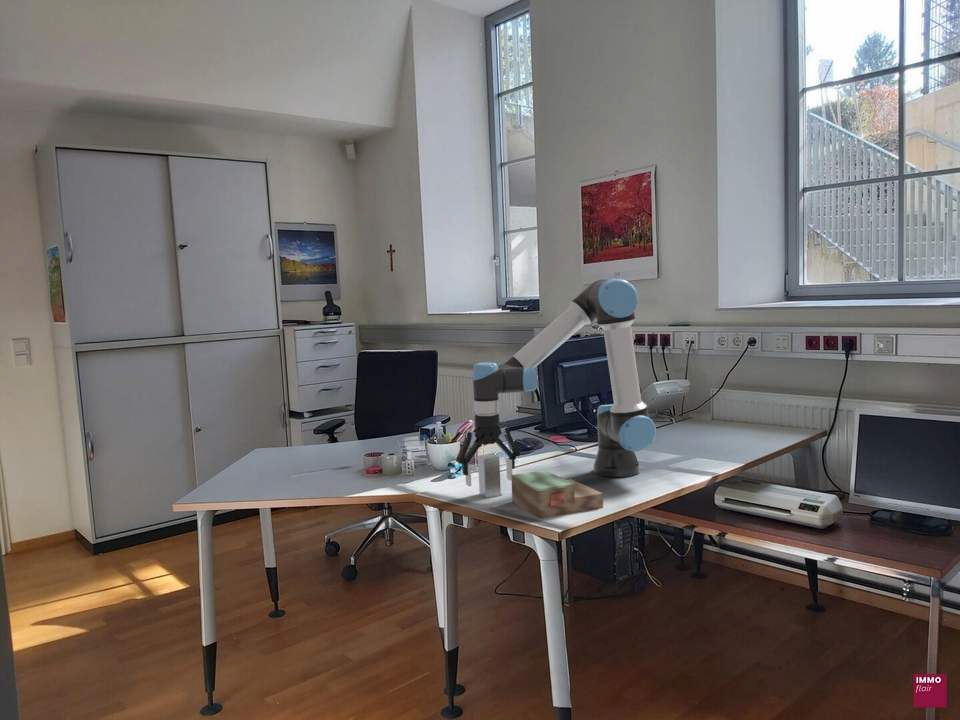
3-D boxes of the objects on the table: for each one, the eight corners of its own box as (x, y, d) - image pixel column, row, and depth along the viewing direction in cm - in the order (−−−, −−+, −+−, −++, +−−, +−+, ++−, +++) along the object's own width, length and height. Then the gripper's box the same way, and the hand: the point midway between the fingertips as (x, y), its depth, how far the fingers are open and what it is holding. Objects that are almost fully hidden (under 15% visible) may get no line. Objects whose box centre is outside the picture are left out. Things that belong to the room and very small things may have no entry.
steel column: (494, 491, 226) (492, 453, 225) (500, 495, 222) (499, 456, 220) (479, 494, 224) (477, 455, 223) (485, 497, 220) (483, 458, 219)
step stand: (572, 492, 222) (571, 466, 221) (604, 507, 205) (603, 479, 204) (512, 501, 215) (511, 474, 214) (540, 518, 198) (539, 489, 197)
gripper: (519, 408, 229) (521, 474, 231) (443, 416, 220) (446, 484, 222) (529, 411, 222) (531, 479, 224) (452, 419, 213) (455, 490, 215)
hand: (489, 482), depth 223 cm, fingers open, 13 cm apart
